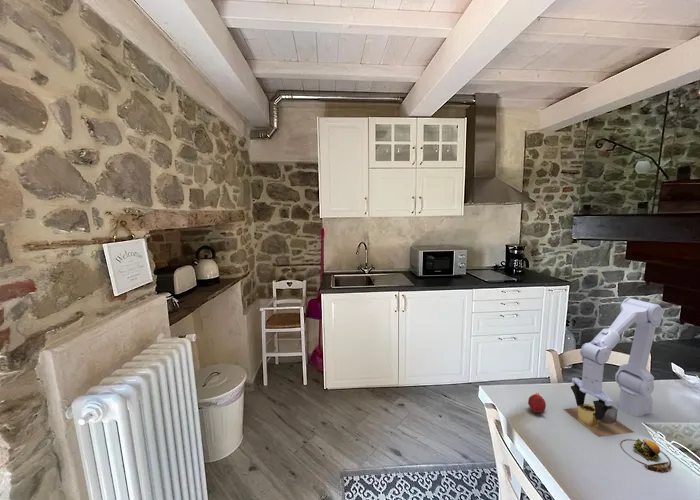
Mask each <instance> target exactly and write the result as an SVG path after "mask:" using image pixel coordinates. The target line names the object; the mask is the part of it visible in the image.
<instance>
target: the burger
mask: <svg viewBox="0 0 700 500" xmlns="http://www.w3.org/2000/svg"><path fill="white" fill-rule="evenodd" d="M658 440H659V438H657V439H656V440H655V441H653V440H651V439H645V438H644V439H642V441H641V439H640V438H637V439H631V438H630V439H629V438H626V439H623V440H621V441H620V447H621V448H622V450H623V451H624V453H626V451H625V450H624V448H623V445H622V444H623V443H624V442H626V441H629V442H634V444H633V449H634V451H635V453H636V454H638V455H639V456H641V457H643V458H644V459H646V460H647V461H649V462H653V461H654V460H658V459H660V455H659V454H662V455H664V457H666V459H667V461H666V462H660V463H652V464H647V463H645V462H642V461H640V460H638V459H635V458H634V457H632V459H634V460H635V461H636V462H638V463H639V464H642V465H646V467H647V470H649V471H651V472H658V471H659V470H660V471H661V472H662V473H668V472H669V471H671V469H672V462H671V461H672V460H671V459H670V457H669V456H668V455H667V454H666V453H664V452H663V451H662V450H661V448H660V446H659V444H657V443H656V442H657V441H658ZM627 455H628V456H630V454H629V453H627Z"/></svg>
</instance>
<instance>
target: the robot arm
mask: <svg viewBox="0 0 700 500" xmlns="http://www.w3.org/2000/svg"><path fill="white" fill-rule="evenodd" d="M619 309H620V313H618V315H617V317H616V318H615V319H614V320H613V322H612V323H611V325H610V326H609V327H608V328H603V329H601V330H600V331H599V333H597V335H596V336H595V337H594V338H593V339H592V340H591V341H590V342H585V343H583V344H582V345H581V348H580V350H579V353H580V357H581V362H582V364H583V366H582V374H581V375H582V376H581V379H579V378H577V377H572V378H571V384H572V385H570V389H571V390H572V393H573V395H574V399H575V402H576V403H575V404H576V405H577V407H579V405H580V404H585V399H586V395H587V394H588V395H590V396H593V397H595V398H597V399H598V400H592V402H593V406H595V419H596V420H602V419H603V416H604V415H605V413H606V411H607V410H608V409H609V408H610V407H611V406H614V405H613V404H614V400H613V399H612V398H611V397H609V396H608V395H607V394H606V393H605V392H604V391H603V379H604V367H605V364H606V363H607V362H608V361H609V360H610V356H611V354H612V350H613V349H614V347H616V346H617V344H618V343H620V341H621V337H620V335H621V334H623V333H624V332H625V331H626V330H627V329H629V328H630V326H632V325H633V324H634V323H635V324H636V326H635V331H634V334H633V335H634V336H633V340H632V343H631V349H630V353H629V358H628V361H627V363H624V364H622V365H619V367H618V370H617V371H616V372H615V375H614V379H615V382H616V383H617V384H618V387H619V389H620V390H619V400H618V408H619V410H621V411H623V413H626V414H629V415H632V416H636V417H643V416H644V415H650V414H652V410H653V403H654V399H653V396H652V393H653V392H654V389H655V384H654V383H655V382H654V381H655V377H654V376H653V375H654V374H653V375H652V373H651V372H650V371H649V370H648V369H647V366H648V362H649V357H650V353H651V349H652V345H653V341H654V340H653V339H654V336H655V331H656V328H657V327H660V326H661V322H662V318H663V315H664V310H663V309H662V307H661V305H660V304H658V303H652V302H648V301H643V300H640V299H639V300H638V299H635V298H632V297H627V298H625V299H624V300H623V301H622V303H620V307H619Z"/></svg>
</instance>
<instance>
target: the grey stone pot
mask: <svg viewBox="0 0 700 500" xmlns="http://www.w3.org/2000/svg"><path fill="white" fill-rule="evenodd" d="M616 420H617V421H618V408H616V406H614V405H613V406H611V407H610V408H609V409H608V410H607V411H606V413H605V415H604V416H603V419H602V420H600V421H601V422H604V423H605V424H607V423H608V424H613V423H616Z"/></svg>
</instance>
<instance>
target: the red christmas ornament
mask: <svg viewBox="0 0 700 500" xmlns="http://www.w3.org/2000/svg"><path fill="white" fill-rule="evenodd" d="M527 403H528V406H529V408H530V409H531V410H532V411H533V412H534V413H535V414H536V413H542V412H544V410H546V407H547V404H546V400H545V399H544V398H543V397H542V396H541V395H540V393H539V392H535V394H532V395H530V396H529V398H528V402H527Z"/></svg>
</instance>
